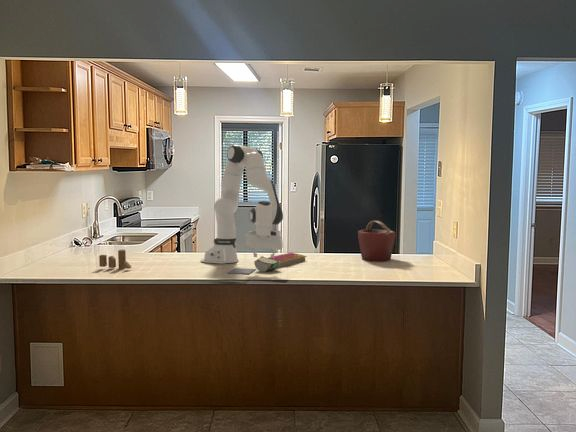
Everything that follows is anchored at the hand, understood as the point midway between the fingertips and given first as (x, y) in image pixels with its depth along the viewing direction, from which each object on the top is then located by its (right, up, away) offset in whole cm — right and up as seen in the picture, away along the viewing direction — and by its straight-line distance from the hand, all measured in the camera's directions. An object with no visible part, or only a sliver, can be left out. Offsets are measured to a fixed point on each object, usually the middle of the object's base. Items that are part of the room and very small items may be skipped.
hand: (263, 257), depth 297 cm
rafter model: (+9, -7, +30) cm, 32 cm away
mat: (-12, -8, +3) cm, 15 cm away
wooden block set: (-82, -7, +8) cm, 82 cm away
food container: (-2, -6, +3) cm, 7 cm away
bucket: (+67, -6, +44) cm, 80 cm away
